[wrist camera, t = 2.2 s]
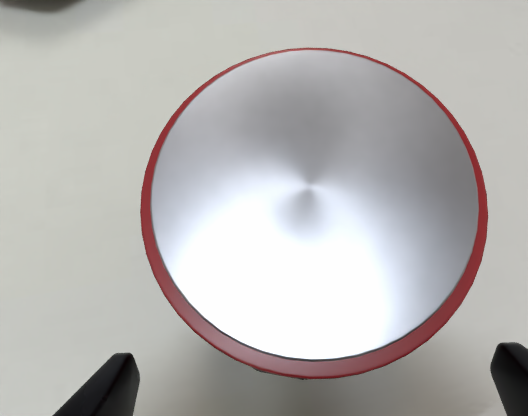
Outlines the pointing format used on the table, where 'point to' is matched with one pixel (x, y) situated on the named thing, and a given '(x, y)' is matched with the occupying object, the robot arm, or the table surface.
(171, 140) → the can
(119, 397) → the robot arm
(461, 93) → the table surface
